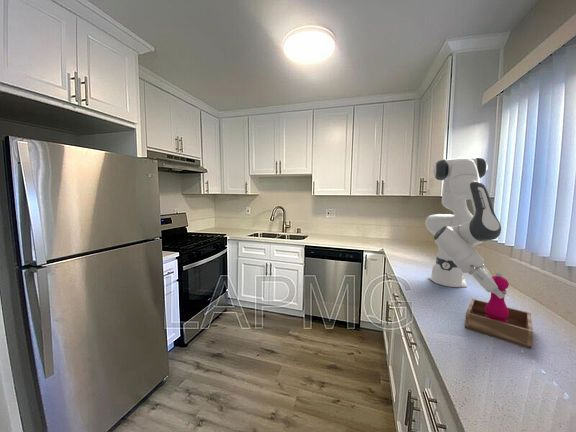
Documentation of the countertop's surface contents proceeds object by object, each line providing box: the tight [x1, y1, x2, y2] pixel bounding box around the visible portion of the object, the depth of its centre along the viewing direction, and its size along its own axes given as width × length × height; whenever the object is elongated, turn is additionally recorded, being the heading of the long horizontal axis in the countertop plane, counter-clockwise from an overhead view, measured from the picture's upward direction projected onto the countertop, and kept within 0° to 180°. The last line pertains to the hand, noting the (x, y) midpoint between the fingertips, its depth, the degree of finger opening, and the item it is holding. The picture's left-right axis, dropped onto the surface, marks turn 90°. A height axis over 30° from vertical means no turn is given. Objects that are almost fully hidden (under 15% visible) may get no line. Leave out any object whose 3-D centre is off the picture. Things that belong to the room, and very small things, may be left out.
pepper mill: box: [485, 272, 510, 323], centre depth 95 cm, size 7×7×20 cm
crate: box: [464, 298, 534, 350], centre depth 94 cm, size 18×18×6 cm
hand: (500, 292), depth 93 cm, fingers open, 8 cm apart
